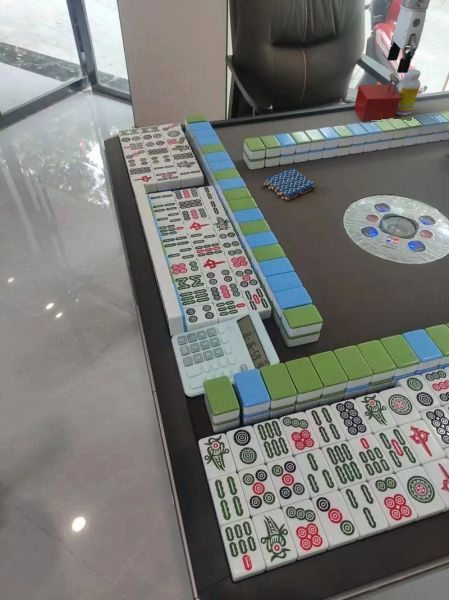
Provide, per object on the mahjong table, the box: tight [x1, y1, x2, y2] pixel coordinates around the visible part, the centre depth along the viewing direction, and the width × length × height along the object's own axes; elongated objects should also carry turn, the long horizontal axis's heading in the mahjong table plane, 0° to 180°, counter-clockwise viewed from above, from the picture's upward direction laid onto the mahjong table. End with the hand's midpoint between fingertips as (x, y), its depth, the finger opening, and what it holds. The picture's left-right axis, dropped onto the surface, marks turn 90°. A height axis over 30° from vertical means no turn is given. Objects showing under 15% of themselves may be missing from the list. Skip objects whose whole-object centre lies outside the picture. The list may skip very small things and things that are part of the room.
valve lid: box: [358, 72, 402, 101], centre depth 138 cm, size 11×10×5 cm
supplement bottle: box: [395, 68, 422, 116], centre depth 141 cm, size 7×7×13 cm
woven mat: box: [263, 168, 317, 201], centre depth 117 cm, size 10×11×2 cm
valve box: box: [353, 87, 399, 123], centre depth 143 cm, size 10×10×7 cm
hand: (396, 66), depth 134 cm, fingers open, 9 cm apart
